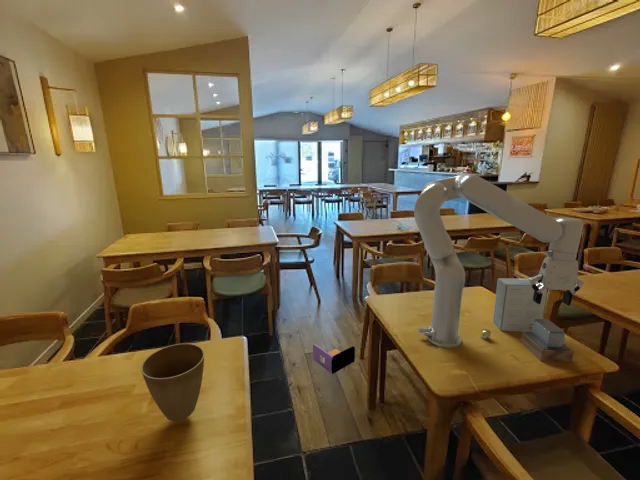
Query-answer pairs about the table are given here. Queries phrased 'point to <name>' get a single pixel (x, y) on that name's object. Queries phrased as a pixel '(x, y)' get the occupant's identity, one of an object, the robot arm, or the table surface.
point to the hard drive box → (516, 305)
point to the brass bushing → (485, 334)
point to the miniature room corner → (333, 358)
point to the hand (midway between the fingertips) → (551, 303)
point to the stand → (546, 349)
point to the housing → (548, 333)
